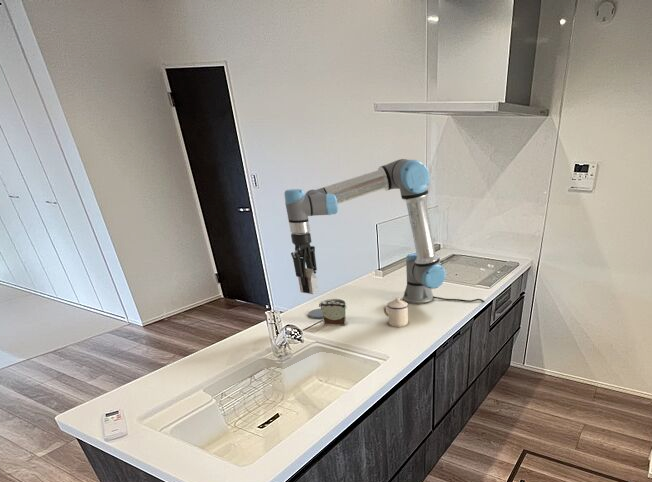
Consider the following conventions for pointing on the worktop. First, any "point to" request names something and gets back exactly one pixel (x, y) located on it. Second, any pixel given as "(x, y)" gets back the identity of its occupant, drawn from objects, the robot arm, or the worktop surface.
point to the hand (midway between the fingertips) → (309, 290)
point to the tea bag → (310, 282)
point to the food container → (333, 311)
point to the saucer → (316, 314)
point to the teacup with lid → (397, 312)
